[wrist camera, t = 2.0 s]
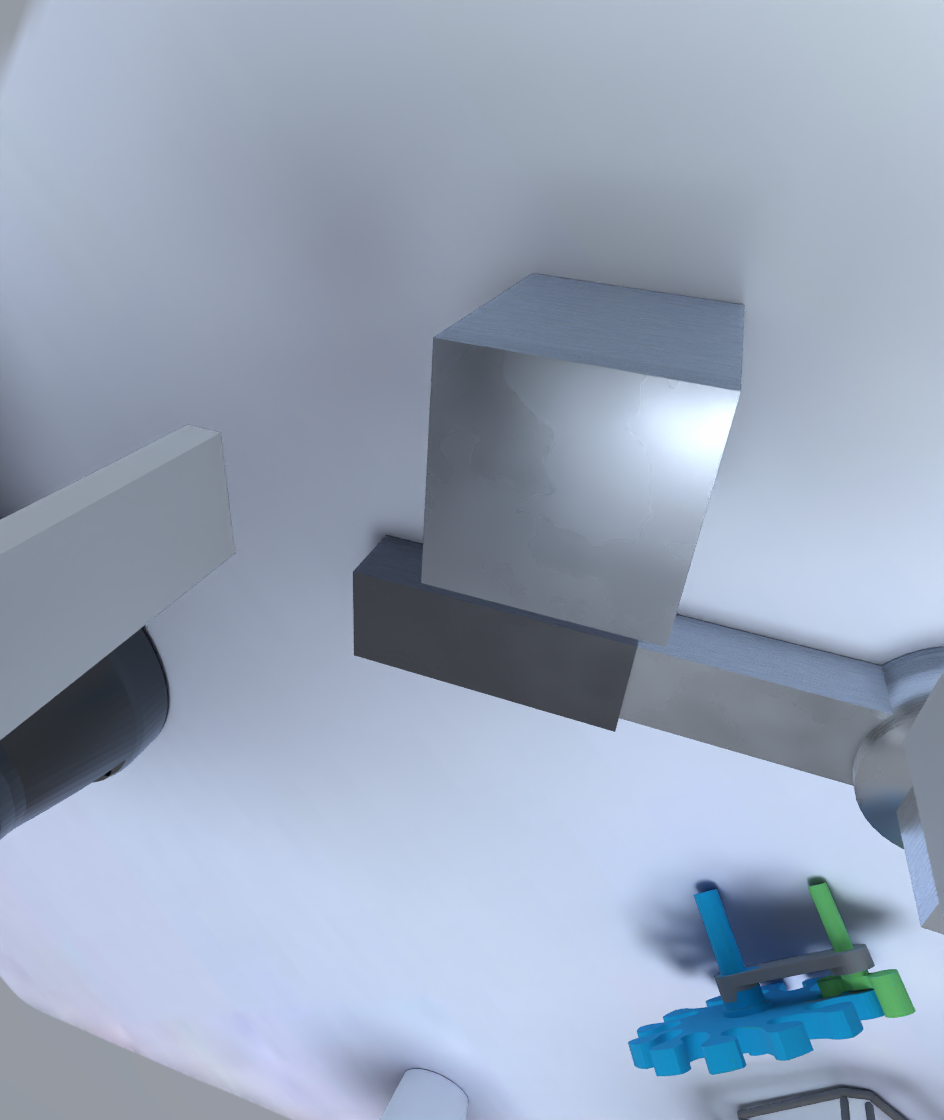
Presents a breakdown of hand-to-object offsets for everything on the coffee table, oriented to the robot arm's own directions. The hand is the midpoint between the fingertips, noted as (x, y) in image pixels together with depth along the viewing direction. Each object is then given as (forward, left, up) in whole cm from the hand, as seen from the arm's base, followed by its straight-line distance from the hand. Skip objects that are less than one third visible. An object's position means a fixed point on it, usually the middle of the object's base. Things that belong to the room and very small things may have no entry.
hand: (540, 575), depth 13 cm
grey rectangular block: (0, 0, -11) cm, 11 cm away
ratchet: (+4, -9, -11) cm, 15 cm away
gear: (+10, -23, -11) cm, 28 cm away
